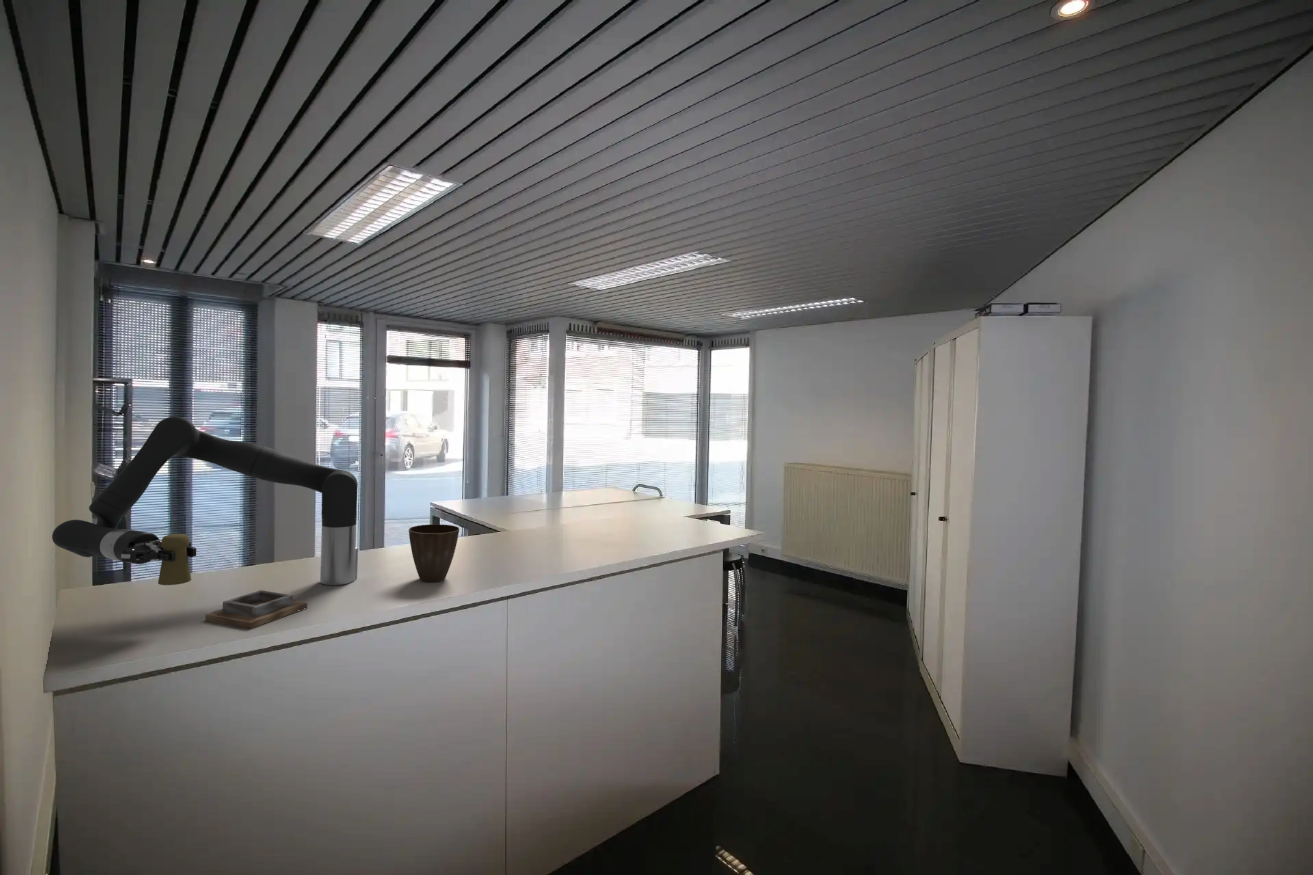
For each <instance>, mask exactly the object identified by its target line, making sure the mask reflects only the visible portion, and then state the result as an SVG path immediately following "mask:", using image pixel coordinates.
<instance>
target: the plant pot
mask: <svg viewBox="0 0 1313 875" xmlns="http://www.w3.org/2000/svg"><path fill="white" fill-rule="evenodd" d="M408 528H409V529H408V536H409V543H410V549H411V555H412V558H413V563H414V566H415V567H414V568H415V570H416V573H417V575H418V578H419V580H420V581H421V582H423V581H424V583H437V582H442V581H444V580H445V579H446V578H447V574H448V573H449V570H450V567H451V564H452V562H453V558H454V556H455V552H456V549H457V548H456V547H457V544H458V539H459V532H460V527H459V526H457V525H451V524H440V523H438V524H433V523H431V524H421V525H420V524H419V525H415V526H411V527H408ZM441 580H442V581H441Z"/></svg>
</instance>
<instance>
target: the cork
mask: <svg viewBox="0 0 1313 875" xmlns="http://www.w3.org/2000/svg"><path fill="white" fill-rule="evenodd" d="M160 540H161V546H162V548H163V549H164V550H167V551H173V552H175V561H172V562H169V561H163V560H161V564H160V570H159V575H158V581H157V584H158V585H161V586H176V585H177V586H178V585H181V584H182V585H183V584H185V583H189V582H191V580H192V575H191V570H190V563H189V562H190V561H189V557H188V555H187V546H188V545H189V543H190V542H191V541H190V537H189V536H188V535H187V534H186V533H185V534H184V533H171V534H167V535H164V536H163V537H162V538H161V539H160Z"/></svg>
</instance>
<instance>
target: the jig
mask: <svg viewBox="0 0 1313 875" xmlns="http://www.w3.org/2000/svg"><path fill="white" fill-rule="evenodd" d="M304 608H307V609H308V602H304V601H299V600H293V595H292V594H286V593H280V592H274V591H267V590H262V589H261V590H260V589H259V590H257V591H254V592H250V593H248V594H244V595H241V596H236V597H234V598H230V599H228V600H224V601H222V608H221V609H218V610H215V611H212V612H208V613H206V614H205V621H206V622H211V621H213V622H212V623H216V624H222V623H223V624H222V625H228V626H234V627H239V628H244V629H248V628H250V629H251V630H252V629H254V628H257V626H258V627H261V626H263V625H265V624H264V623H266V624H268V622H269V623H271V622H274V621H276V620H275V619H277V620H279V619H278V618H280V617H282V618H284V616H285V617H287V616H286V615H288V616H289V614H290V615H292V614H291V613H293V614H295V612H296V611H298V610H301V611H303V610H302V609H304ZM304 610H305V609H304ZM296 613H297V612H296ZM280 619H281V618H280ZM273 620H274V621H273ZM270 621H271V622H270ZM262 624H263V625H262ZM250 629H249V630H250Z"/></svg>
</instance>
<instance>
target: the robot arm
mask: <svg viewBox="0 0 1313 875" xmlns="http://www.w3.org/2000/svg"><path fill="white" fill-rule="evenodd" d="M174 456H177V457H182V458H189V459H194V460H197V461H198V460H199V461H201V462H202V461H203V462H207V463H211V464H213V465H216V466H220V467H222V468H224V469H227V470H230V471H233V472H236V473H239V474H242V475H245V476H249V477H250V478H255V479H258V480H262V481H265V482H271V483H275V484H283V485H292V486H299V487H302V488H307V489H310V490H313V491H316V492H319V493H321V541H320V542H321V544H320V572H319V574H320V580H319V582H320V584H323V585H324V586H326V585H327V586H341V585H347V584H350V583H353V582H355V580H356V579H358V566H359V565H358V560H359V559H358V558H359V548H358V547H357V546H356V545H357V519H358V509H357V508H358V507H357V506H358V487H359V484H358V479H357V477H356V476H355V475H354V474H353V473H351V472H350V471H347V470H343V469H339V468H332V467H329V466H323V465H320V464H315V463H312V462H309V461H307V460H305V459H302V458H300V457H298V456H295V455H292V454H289V453H287V452H283V451H280V450H278V449H275V448H272V447H268V446H265V445H262V444H258V443H254V442H248V441H238V440H229V439H225V438H221V437H219V436H214V435H212V434H209V433H206V432H204V431H202V430H200V429H197V428H196V427H195V424H194V423H193V422H191V420H189V419H188V418H185V417H182V416H176V415H175V416H168V417H166V418H163V419H161V420H160V421H159V422H158V423H157V424H156V425H155V426H154V428H153V430H152V431H151V433H150V435H149V436H148V437H147V438H146V440H145V442H144V444H143V445H142V447H141V448H140V449H139V450H138V451H137V453H136V454H135V455H134V456H133V458H132V459H131V460H130V461H129V463H128V464H127V465H126V466H125V467H124V469H122V471H120V472H119V474H118V475H117V476H116V477H115V478H114V479H113V480H112V481H111V482H110V483H109V484H108V485H107V486H106V487H105V489H103V491H102V492H100V494H99V495H98V496H97V497H95V499H94V500H93V502H91V503H90V505H89V506H88V510H89V511H90V513H92V514H93V515H94V516H95V517H96V518H97V521H96V523H94V522H90V521H88V520H87V521H86V520H84V519H83V520H82V519H70V520H67V521H64V522H62V523H60V524H59V525H57V526H56V527H55V528H54V529H53V531H52V535H51V540H52V542H53V543H54V545H56V547H59V548H61V549H63V550H66V551H69V552H71V553H74V554H76V555H77V556H80V557H84V558H91V557H94V556H96V557H101V558H104V559H105V558H106V559H110V560H113V561H117V562H123V563H128V564H132V565H133V564H134V565H144V564H147V563H150V562H160V561H162V560H163V561H169V562H172V561H175V552H173V551H167V550H164V549H163V548H162V546H161V540H162V539H160V538H159V537H158V535H157V534H155V533H152V532H148V531H143V530H142V531H141V530H137V529H135V530H134V529H128V528H126V529H125V528H122V529H120V528H118V527H119V525H120V524H121V520H122V519H123V517H124V516H125V515H126V514H127V513H128V512H129V511H130V510H131V508H132V507H133V506H135V504H136V503H137V502H138V501H139V499H140V498H141V497H142V496H143V494H144V493H145V491H146V490H147V489H148V487H149V486H150V485H151V482H152V481H153V479H154V478H155V476H156V475H157V473H159V471H160V470H161V468H163V466H164V465H165V464H166V463H167V462H168V461H169V460H170V459H171V458H173V457H174ZM187 555H188V558H194V557H196V556H197V548H196V547H194V546H192V541H190V543H189V545H188V546H187Z"/></svg>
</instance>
